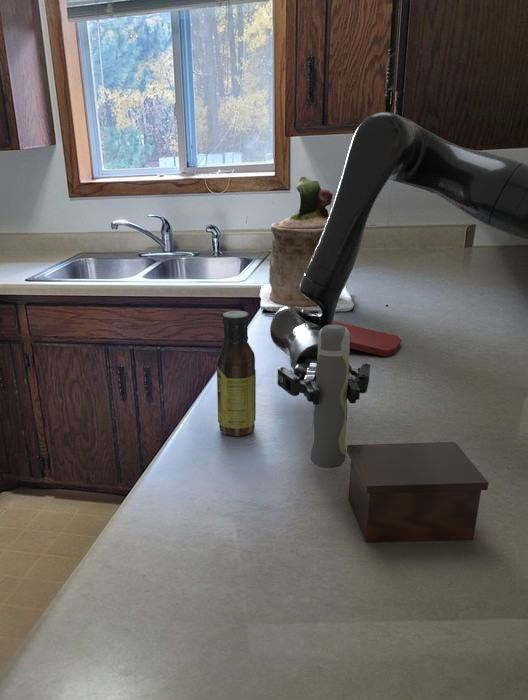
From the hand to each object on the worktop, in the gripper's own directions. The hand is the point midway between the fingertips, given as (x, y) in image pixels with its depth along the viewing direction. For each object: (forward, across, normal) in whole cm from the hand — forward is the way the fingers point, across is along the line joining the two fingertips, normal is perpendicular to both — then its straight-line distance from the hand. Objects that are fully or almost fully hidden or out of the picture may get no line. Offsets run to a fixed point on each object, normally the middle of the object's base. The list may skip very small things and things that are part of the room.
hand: (335, 397), depth 99 cm
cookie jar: (-110, +12, +14) cm, 112 cm away
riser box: (+11, +8, +13) cm, 19 cm away
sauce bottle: (-20, -12, +13) cm, 27 cm away
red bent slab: (-68, +14, +13) cm, 70 cm away
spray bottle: (-3, 0, +11) cm, 12 cm away
